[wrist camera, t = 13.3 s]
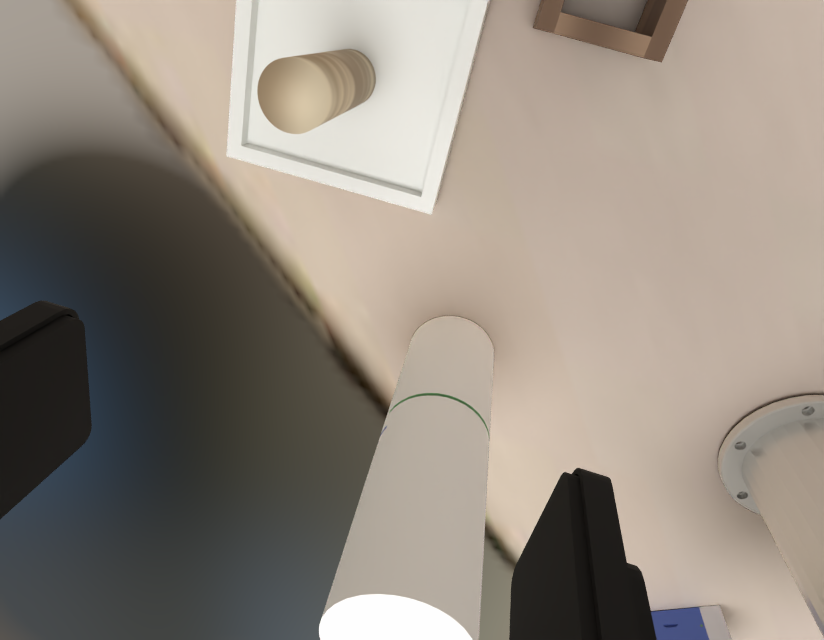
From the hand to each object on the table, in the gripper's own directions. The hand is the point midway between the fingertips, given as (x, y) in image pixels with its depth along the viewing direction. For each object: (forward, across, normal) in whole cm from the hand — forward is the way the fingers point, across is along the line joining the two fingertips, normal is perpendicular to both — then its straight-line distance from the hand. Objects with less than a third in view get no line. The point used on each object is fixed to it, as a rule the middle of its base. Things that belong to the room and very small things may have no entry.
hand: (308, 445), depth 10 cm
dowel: (+30, +9, -3) cm, 31 cm away
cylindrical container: (+32, -3, +16) cm, 36 cm away
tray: (+31, +9, -3) cm, 33 cm away
